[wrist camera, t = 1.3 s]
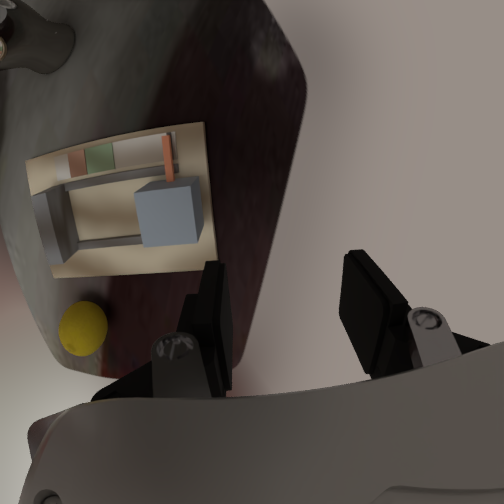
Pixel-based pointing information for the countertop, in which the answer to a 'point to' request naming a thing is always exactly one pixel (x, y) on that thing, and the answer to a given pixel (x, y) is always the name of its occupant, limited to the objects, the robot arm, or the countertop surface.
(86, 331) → the lemon
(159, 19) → the countertop surface
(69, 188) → the gauge board
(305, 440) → the robot arm
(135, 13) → the countertop surface
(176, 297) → the countertop surface
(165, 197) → the slider block with pointer
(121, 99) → the countertop surface
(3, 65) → the grey metal cup
